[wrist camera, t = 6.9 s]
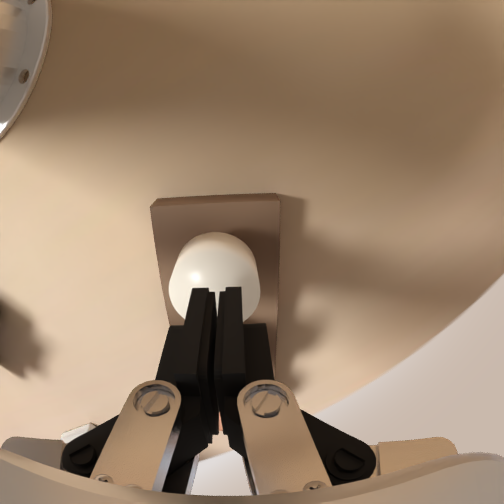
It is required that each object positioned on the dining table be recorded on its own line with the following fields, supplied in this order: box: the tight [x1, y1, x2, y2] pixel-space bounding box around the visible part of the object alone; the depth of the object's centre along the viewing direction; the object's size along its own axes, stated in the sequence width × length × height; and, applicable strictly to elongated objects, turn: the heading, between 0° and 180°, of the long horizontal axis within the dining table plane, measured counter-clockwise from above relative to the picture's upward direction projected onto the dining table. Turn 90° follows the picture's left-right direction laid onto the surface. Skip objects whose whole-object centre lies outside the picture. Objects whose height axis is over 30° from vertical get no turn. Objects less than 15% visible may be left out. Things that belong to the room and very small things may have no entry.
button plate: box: [150, 193, 280, 379], centre depth 17 cm, size 16×6×2 cm, turn 1°
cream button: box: [169, 232, 260, 322], centre depth 12 cm, size 4×4×2 cm
